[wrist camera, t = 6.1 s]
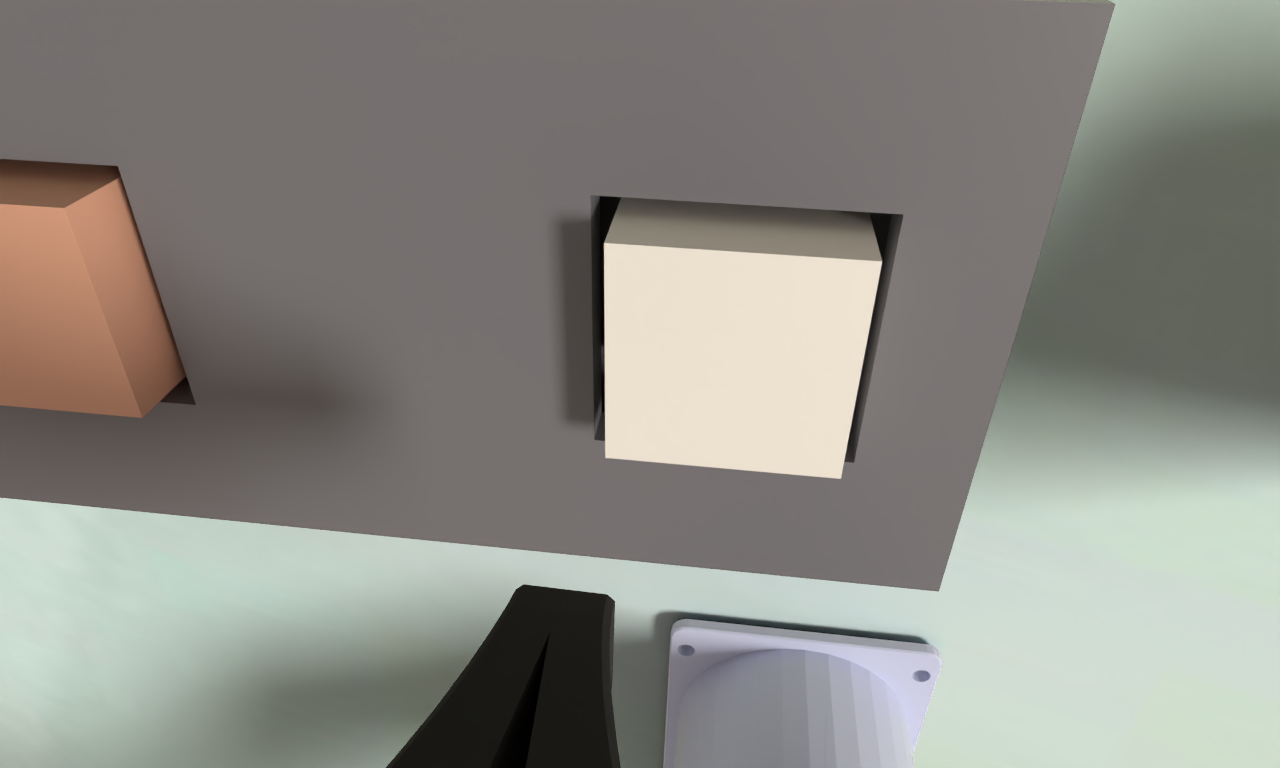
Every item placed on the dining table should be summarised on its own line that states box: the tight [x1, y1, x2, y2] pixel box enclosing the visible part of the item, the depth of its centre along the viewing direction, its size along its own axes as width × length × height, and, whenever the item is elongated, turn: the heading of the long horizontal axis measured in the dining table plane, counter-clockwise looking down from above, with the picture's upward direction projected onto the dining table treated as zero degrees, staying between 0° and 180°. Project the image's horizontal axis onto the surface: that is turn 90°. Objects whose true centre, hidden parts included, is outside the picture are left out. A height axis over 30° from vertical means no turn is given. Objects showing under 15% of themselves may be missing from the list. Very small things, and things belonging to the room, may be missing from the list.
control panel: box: [0, 0, 1115, 591], centre depth 18 cm, size 12×24×4 cm, turn 89°
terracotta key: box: [0, 159, 186, 418], centre depth 18 cm, size 4×4×3 cm
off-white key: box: [604, 197, 882, 479], centre depth 16 cm, size 4×4×3 cm
